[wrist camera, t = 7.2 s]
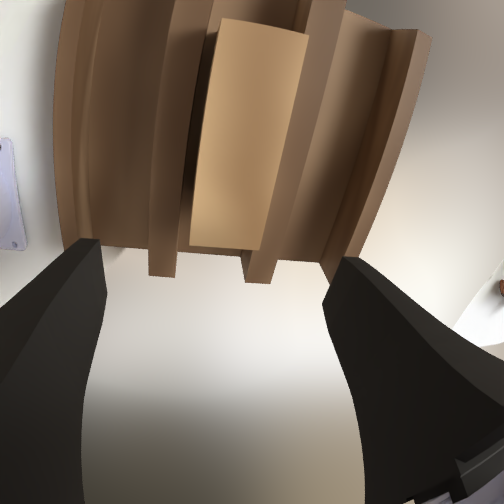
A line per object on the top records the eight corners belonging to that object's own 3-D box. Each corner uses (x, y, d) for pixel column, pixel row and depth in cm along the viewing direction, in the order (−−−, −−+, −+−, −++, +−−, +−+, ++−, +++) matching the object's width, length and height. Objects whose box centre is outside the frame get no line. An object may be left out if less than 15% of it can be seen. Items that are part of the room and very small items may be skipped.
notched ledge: (82, 239, 18) (67, 267, 15) (95, -20, 9) (74, -33, 6) (329, 259, 22) (344, 287, 19) (401, 36, 13) (432, 37, 10)
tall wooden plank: (192, 194, 17) (189, 245, 13) (217, 31, 12) (221, 17, 8) (245, 199, 17) (259, 250, 13) (277, 41, 12) (309, 35, 8)
